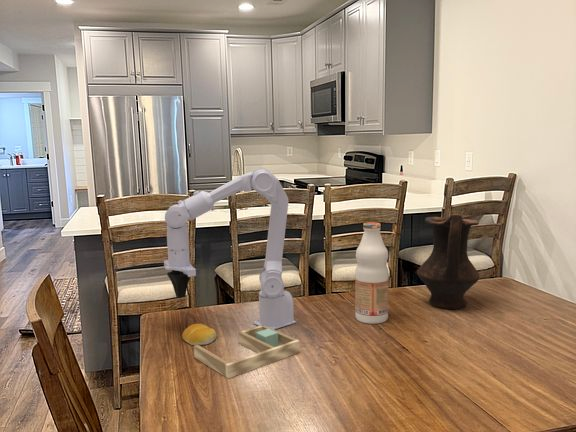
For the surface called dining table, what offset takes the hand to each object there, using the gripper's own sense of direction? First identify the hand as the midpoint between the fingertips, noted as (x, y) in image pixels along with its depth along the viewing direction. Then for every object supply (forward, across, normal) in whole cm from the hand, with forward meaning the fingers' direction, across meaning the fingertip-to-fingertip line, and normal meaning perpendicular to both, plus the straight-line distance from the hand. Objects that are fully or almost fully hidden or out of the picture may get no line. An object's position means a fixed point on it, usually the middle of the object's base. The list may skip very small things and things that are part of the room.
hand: (180, 296), depth 144 cm
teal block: (+10, +26, +10) cm, 29 cm away
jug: (+10, +38, +71) cm, 81 cm away
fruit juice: (+10, +30, +45) cm, 55 cm away
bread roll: (+10, +10, 0) cm, 14 cm away
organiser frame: (+9, +26, +3) cm, 28 cm away
